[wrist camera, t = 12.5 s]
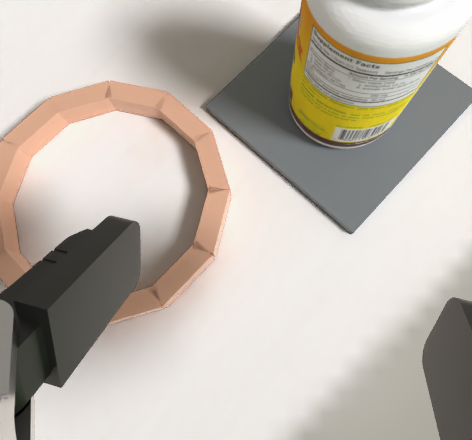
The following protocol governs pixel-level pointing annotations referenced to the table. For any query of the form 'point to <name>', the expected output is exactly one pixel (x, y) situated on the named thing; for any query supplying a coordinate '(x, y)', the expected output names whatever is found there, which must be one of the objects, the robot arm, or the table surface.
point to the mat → (327, 158)
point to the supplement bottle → (365, 63)
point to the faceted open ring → (93, 104)
